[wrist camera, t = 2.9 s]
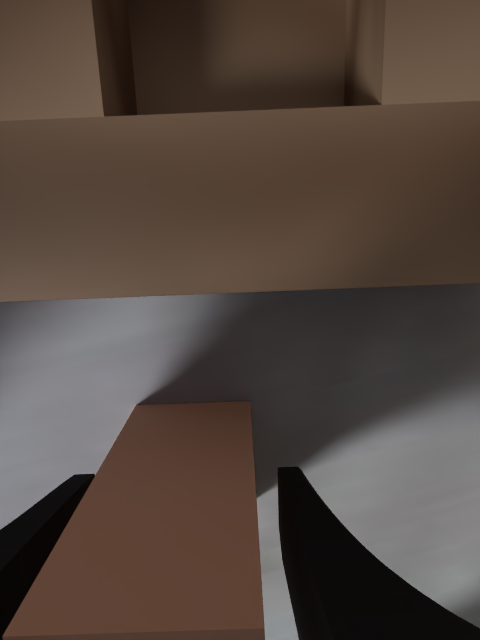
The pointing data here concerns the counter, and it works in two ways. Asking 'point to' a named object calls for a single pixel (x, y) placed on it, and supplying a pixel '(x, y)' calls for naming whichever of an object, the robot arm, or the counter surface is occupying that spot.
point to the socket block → (237, 146)
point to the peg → (159, 537)
